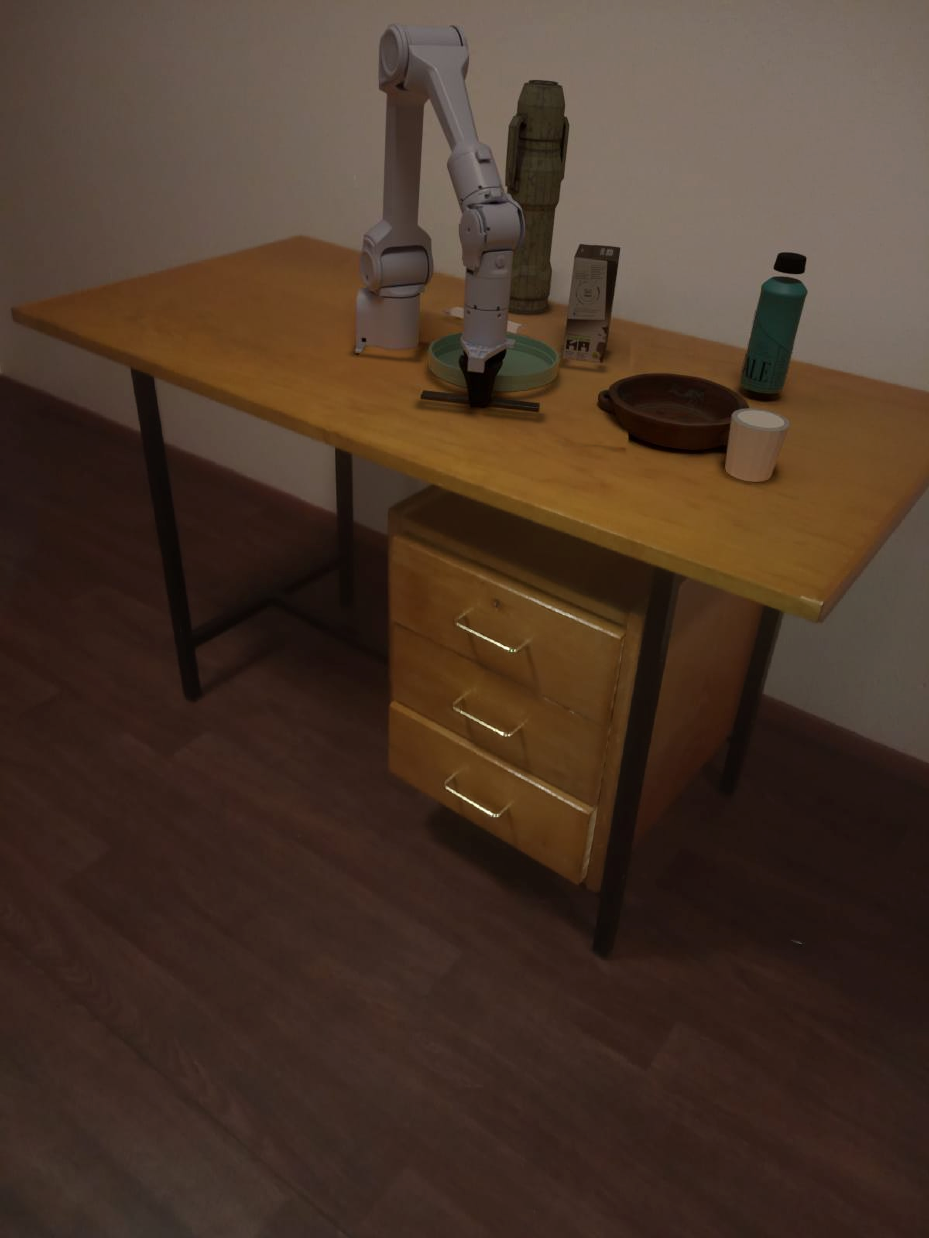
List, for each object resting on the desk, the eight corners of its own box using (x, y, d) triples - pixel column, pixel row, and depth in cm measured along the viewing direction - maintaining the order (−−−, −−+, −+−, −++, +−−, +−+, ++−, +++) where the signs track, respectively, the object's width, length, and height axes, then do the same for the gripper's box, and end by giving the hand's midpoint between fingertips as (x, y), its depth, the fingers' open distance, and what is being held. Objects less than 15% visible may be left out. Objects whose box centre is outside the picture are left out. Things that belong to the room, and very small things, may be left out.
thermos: (563, 307, 170) (589, 84, 150) (519, 319, 163) (540, 86, 143) (527, 295, 175) (547, 77, 155) (482, 306, 168) (497, 79, 148)
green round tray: (417, 391, 133) (417, 367, 131) (440, 347, 149) (441, 325, 147) (551, 406, 132) (554, 382, 130) (560, 360, 147) (563, 338, 145)
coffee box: (602, 371, 144) (618, 261, 135) (560, 365, 145) (572, 256, 136) (607, 351, 152) (622, 246, 143) (567, 346, 153) (579, 241, 143)
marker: (441, 320, 163) (519, 341, 155) (435, 316, 161) (514, 337, 153) (446, 305, 162) (525, 325, 155) (440, 301, 160) (519, 321, 153)
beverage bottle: (782, 391, 141) (818, 251, 130) (779, 407, 136) (817, 263, 125) (738, 384, 143) (770, 245, 132) (733, 399, 138) (766, 256, 126)
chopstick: (537, 420, 127) (539, 407, 126) (420, 407, 129) (420, 394, 128) (538, 415, 129) (540, 402, 128) (422, 402, 130) (423, 390, 129)
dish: (622, 392, 138) (628, 358, 135) (772, 431, 129) (781, 396, 126) (569, 431, 125) (573, 395, 122) (731, 477, 116) (740, 439, 113)
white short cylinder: (712, 459, 120) (724, 406, 116) (765, 460, 121) (778, 407, 117) (729, 483, 115) (742, 429, 111) (784, 484, 115) (799, 430, 111)
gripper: (511, 324, 114) (502, 430, 122) (523, 291, 126) (514, 389, 134) (453, 319, 115) (448, 424, 123) (471, 286, 127) (465, 384, 135)
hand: (479, 406), depth 128 cm, fingers closed on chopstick, 2 cm apart
